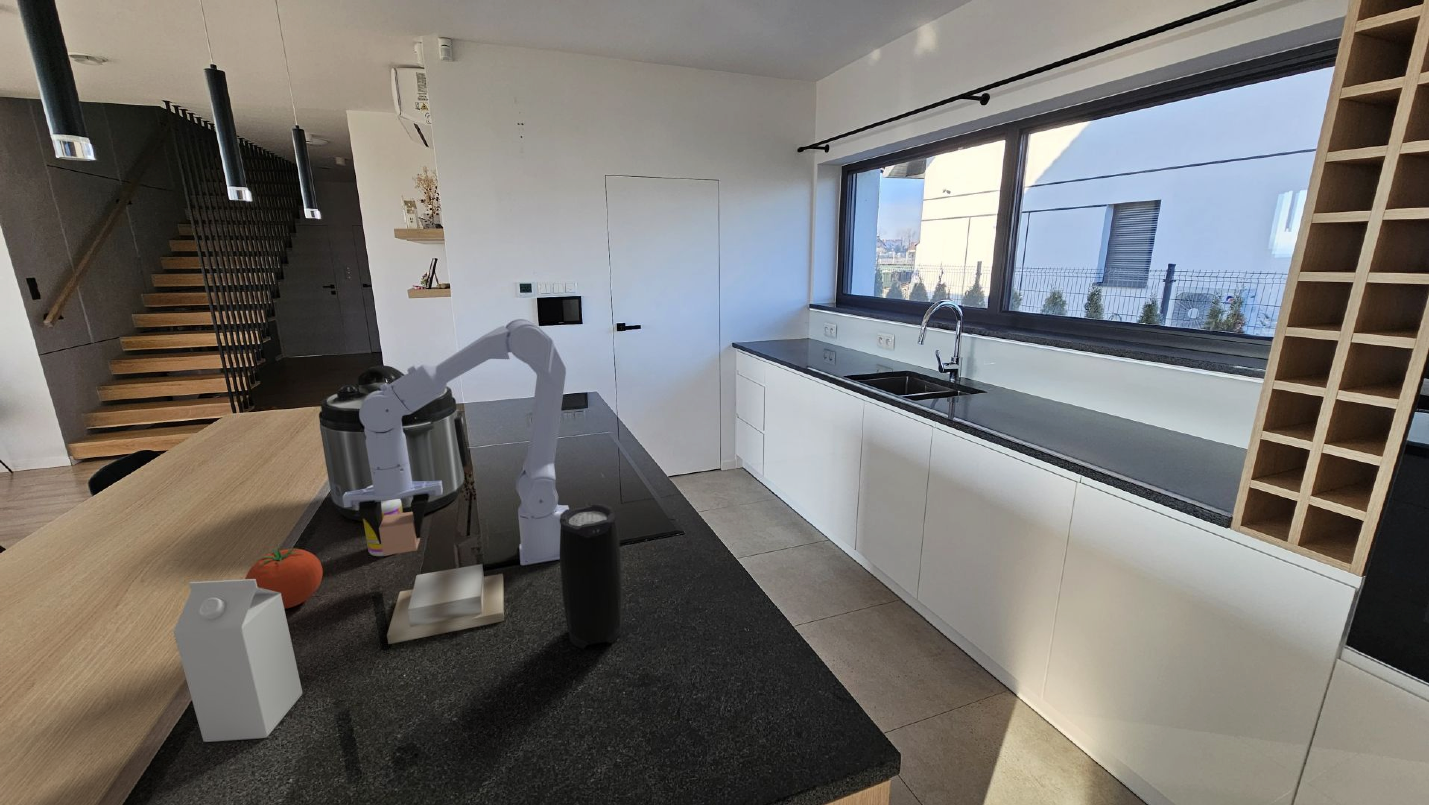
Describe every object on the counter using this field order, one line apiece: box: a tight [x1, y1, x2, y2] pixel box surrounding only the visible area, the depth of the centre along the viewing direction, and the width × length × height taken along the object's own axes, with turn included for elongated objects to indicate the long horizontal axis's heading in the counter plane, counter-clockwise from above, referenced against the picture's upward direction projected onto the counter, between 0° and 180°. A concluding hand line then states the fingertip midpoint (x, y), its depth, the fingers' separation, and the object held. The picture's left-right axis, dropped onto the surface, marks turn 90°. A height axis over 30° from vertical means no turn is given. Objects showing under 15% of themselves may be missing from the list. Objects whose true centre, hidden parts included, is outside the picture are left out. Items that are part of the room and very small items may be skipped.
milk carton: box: [173, 579, 303, 743], centre depth 69 cm, size 7×7×19 cm
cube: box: [379, 512, 421, 556], centre depth 99 cm, size 5×5×5 cm
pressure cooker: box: [318, 364, 470, 522], centre depth 131 cm, size 30×28×32 cm
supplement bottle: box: [362, 485, 403, 557], centre depth 111 cm, size 7×7×13 cm
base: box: [386, 563, 505, 645], centre depth 92 cm, size 16×12×4 cm
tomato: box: [244, 547, 324, 610], centre depth 93 cm, size 10×10×10 cm
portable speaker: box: [559, 502, 623, 650], centre depth 84 cm, size 9×9×20 cm
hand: (401, 538), depth 99 cm, fingers closed on cube, 5 cm apart
